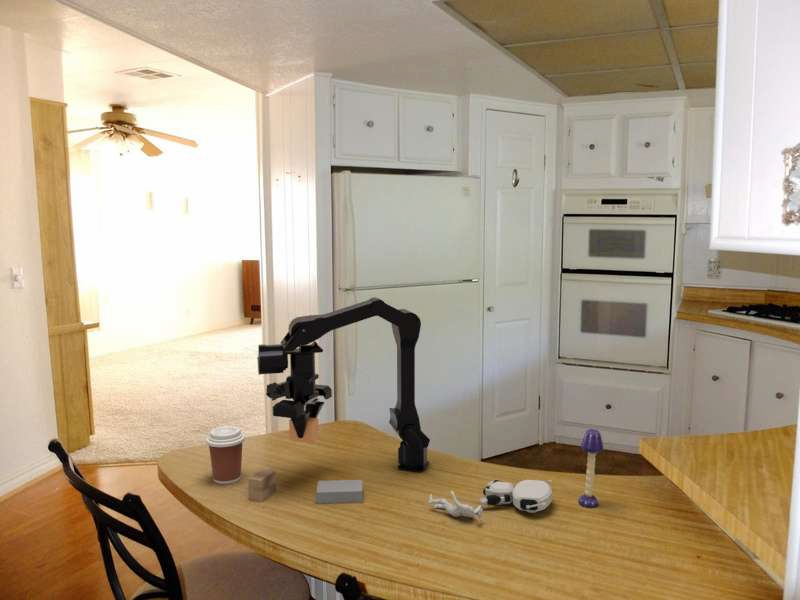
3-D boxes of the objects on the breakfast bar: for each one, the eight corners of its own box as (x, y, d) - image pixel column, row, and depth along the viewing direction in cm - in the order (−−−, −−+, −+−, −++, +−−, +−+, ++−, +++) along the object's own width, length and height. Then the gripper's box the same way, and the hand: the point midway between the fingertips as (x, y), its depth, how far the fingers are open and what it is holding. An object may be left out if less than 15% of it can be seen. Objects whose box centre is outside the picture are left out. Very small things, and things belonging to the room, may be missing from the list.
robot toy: (477, 515, 135) (549, 521, 130) (476, 495, 135) (548, 500, 130) (489, 492, 147) (555, 496, 142) (488, 473, 146) (554, 477, 141)
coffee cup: (216, 489, 146) (214, 440, 145) (201, 477, 153) (199, 429, 152) (253, 479, 152) (251, 431, 150) (236, 467, 159) (235, 421, 157)
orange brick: (318, 438, 151) (318, 418, 151) (312, 443, 148) (311, 422, 147) (296, 435, 153) (296, 415, 153) (289, 440, 150) (289, 420, 149)
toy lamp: (602, 501, 139) (605, 429, 137) (599, 510, 135) (602, 435, 133) (580, 497, 141) (582, 426, 139) (576, 506, 137) (579, 432, 135)
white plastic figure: (444, 506, 140) (492, 502, 134) (441, 527, 137) (490, 524, 131) (425, 490, 136) (474, 485, 129) (421, 512, 133) (471, 508, 126)
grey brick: (362, 492, 146) (362, 479, 145) (362, 504, 140) (362, 491, 139) (318, 493, 145) (318, 480, 145) (316, 505, 139) (316, 492, 139)
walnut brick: (263, 488, 147) (262, 468, 146) (276, 491, 146) (275, 470, 145) (248, 499, 141) (247, 478, 141) (261, 502, 140) (261, 480, 139)
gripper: (292, 360, 160) (294, 419, 162) (251, 378, 143) (253, 444, 145) (332, 363, 156) (333, 424, 158) (294, 382, 139) (296, 450, 141)
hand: (304, 435), depth 151 cm, fingers closed on orange brick, 3 cm apart
